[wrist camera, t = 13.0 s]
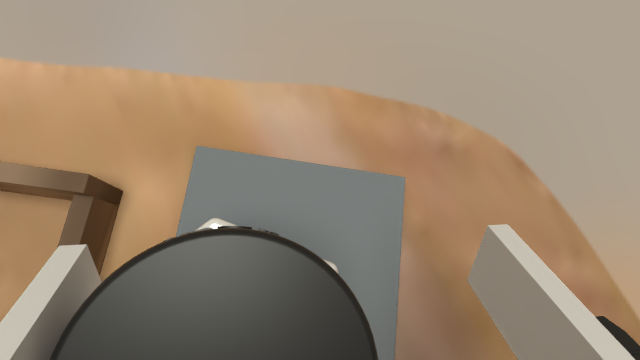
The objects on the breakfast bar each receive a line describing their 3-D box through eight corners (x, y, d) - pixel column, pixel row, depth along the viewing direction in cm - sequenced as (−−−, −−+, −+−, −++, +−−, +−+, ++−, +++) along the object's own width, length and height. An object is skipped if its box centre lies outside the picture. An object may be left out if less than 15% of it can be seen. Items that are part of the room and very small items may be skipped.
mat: (145, 382, 19) (141, 385, 19) (198, 148, 23) (196, 145, 22) (388, 405, 20) (391, 409, 20) (402, 179, 24) (405, 177, 24)
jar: (257, 199, 21) (267, 154, 9) (339, 305, 21) (452, 390, 9) (123, 300, 19) (-79, 404, 7) (216, 418, 19) (163, 715, 7)
